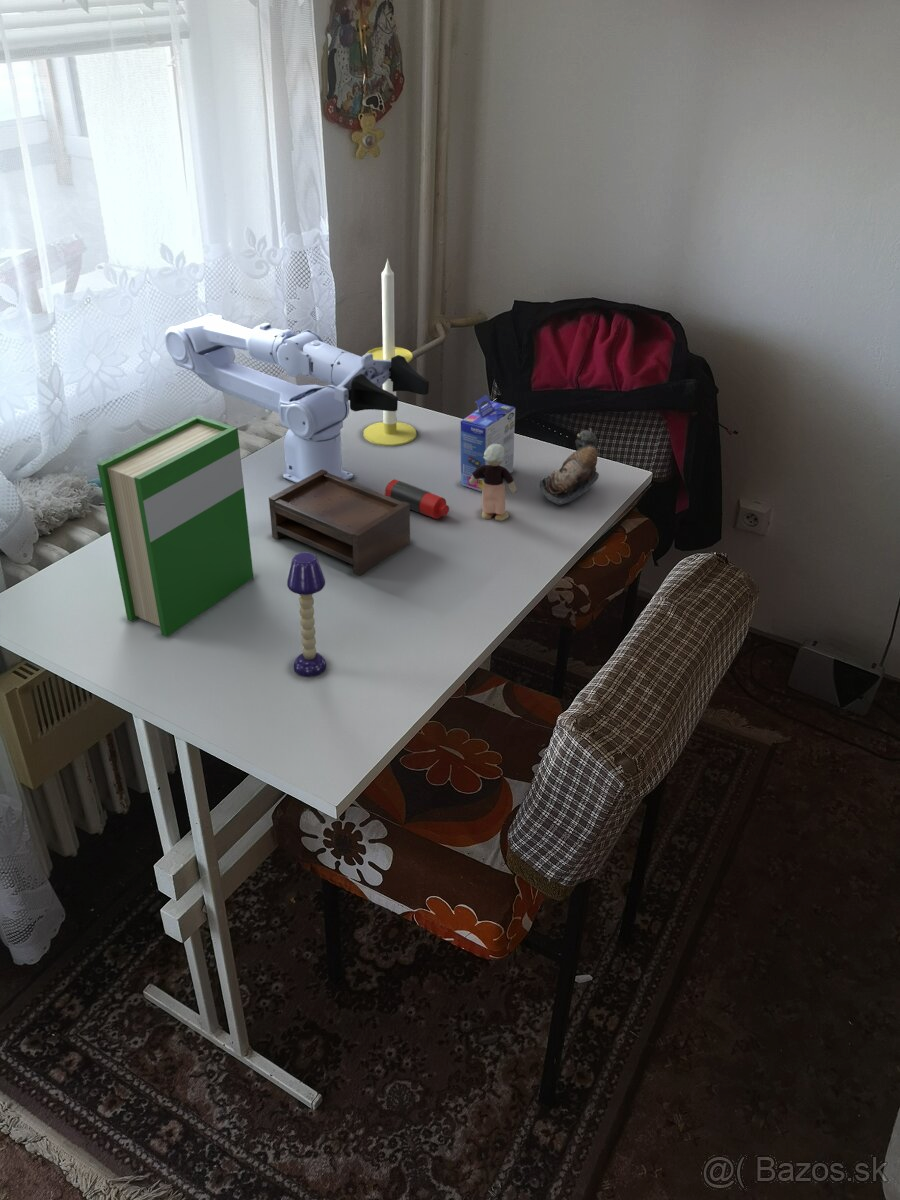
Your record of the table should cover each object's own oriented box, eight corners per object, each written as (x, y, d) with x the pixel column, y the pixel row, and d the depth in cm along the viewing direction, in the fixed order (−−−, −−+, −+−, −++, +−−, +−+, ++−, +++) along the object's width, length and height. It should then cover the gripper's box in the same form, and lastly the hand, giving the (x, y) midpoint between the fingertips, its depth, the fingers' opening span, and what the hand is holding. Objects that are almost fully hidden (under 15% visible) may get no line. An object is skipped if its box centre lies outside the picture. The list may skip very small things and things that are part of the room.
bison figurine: (566, 514, 169) (571, 459, 163) (530, 500, 172) (534, 446, 166) (603, 487, 176) (610, 433, 171) (568, 475, 180) (574, 422, 174)
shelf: (272, 537, 161) (268, 497, 157) (324, 507, 169) (322, 469, 165) (359, 576, 152) (358, 535, 148) (410, 543, 160) (410, 503, 156)
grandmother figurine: (515, 511, 169) (519, 440, 162) (514, 522, 166) (518, 451, 159) (468, 508, 170) (471, 437, 162) (466, 519, 167) (469, 448, 159)
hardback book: (166, 637, 139) (139, 479, 125) (127, 619, 142) (96, 463, 129) (253, 577, 151) (237, 427, 138) (215, 562, 155) (196, 414, 141)
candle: (398, 450, 186) (396, 270, 168) (352, 437, 190) (345, 260, 172) (427, 430, 193) (428, 255, 175) (382, 418, 198) (379, 246, 179)
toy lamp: (294, 655, 136) (285, 548, 127) (330, 654, 137) (323, 547, 127) (293, 678, 132) (284, 569, 123) (329, 676, 133) (323, 568, 123)
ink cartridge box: (487, 463, 183) (490, 386, 175) (514, 471, 181) (519, 394, 172) (457, 485, 176) (459, 406, 168) (485, 494, 174) (488, 414, 165)
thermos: (384, 504, 170) (384, 484, 168) (399, 494, 173) (398, 475, 171) (438, 525, 165) (438, 505, 163) (452, 515, 167) (452, 496, 165)
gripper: (312, 359, 155) (382, 387, 149) (373, 332, 164) (441, 357, 158) (313, 402, 159) (381, 431, 153) (373, 373, 169) (439, 399, 163)
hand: (412, 396), depth 156 cm, fingers open, 7 cm apart
